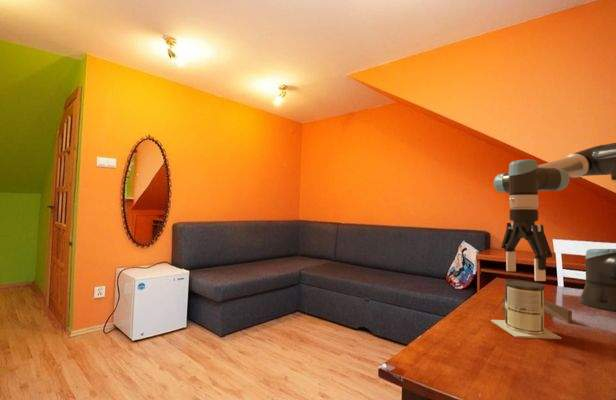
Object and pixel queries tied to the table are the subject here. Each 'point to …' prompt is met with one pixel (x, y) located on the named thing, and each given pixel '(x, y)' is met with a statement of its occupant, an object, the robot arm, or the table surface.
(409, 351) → the table surface
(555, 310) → the wooden bars
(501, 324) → the mat
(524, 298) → the coffee can
